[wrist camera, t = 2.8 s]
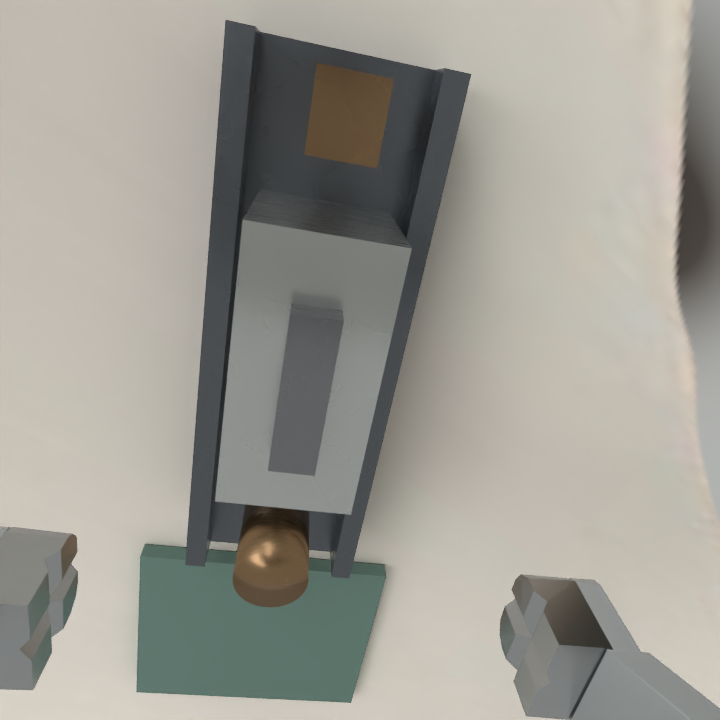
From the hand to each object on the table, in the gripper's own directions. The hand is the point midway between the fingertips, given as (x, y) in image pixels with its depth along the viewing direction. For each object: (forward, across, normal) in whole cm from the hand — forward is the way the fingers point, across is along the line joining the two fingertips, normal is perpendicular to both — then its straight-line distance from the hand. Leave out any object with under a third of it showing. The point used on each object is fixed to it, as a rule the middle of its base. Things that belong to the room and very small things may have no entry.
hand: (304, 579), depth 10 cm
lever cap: (+12, 0, -1) cm, 12 cm away
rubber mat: (+14, 0, +18) cm, 23 cm away
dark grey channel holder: (+14, 0, 0) cm, 14 cm away
